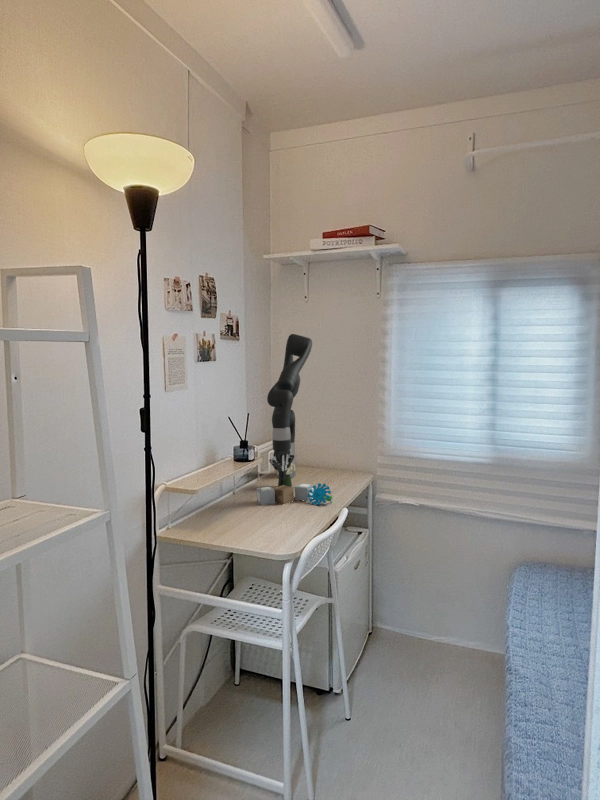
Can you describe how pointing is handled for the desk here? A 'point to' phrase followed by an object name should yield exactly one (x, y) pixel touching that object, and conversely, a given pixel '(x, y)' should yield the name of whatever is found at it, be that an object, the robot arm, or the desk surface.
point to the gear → (320, 494)
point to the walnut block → (284, 494)
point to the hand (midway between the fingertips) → (282, 479)
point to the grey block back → (303, 491)
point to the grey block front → (265, 495)
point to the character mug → (288, 479)
